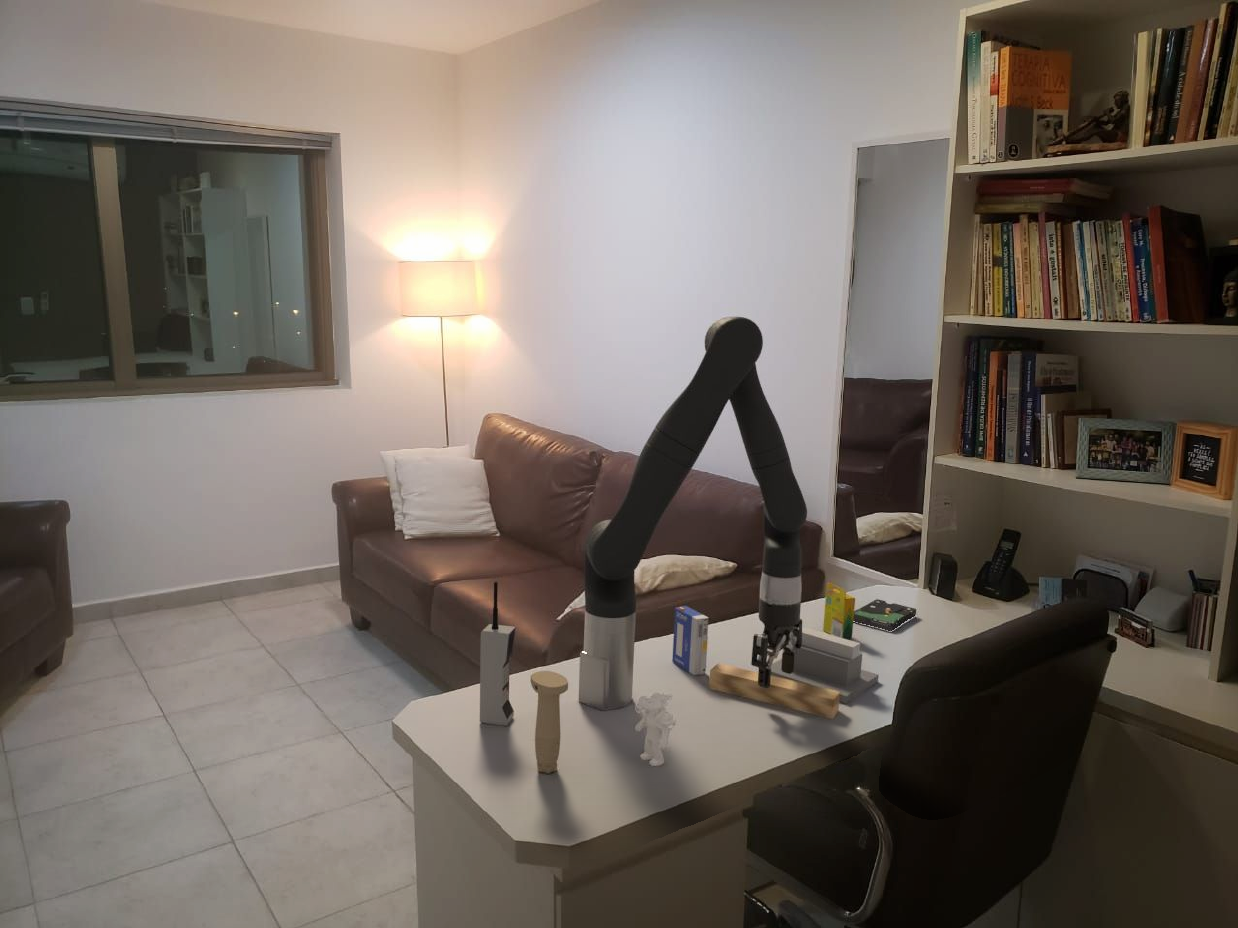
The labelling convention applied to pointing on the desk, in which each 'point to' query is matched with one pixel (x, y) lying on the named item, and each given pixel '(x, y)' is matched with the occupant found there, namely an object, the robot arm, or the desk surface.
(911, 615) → the disk drive
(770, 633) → the robot arm
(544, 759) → the handle
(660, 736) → the white figurine
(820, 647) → the balance stand
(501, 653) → the vintage mobile phone
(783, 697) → the oak bar
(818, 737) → the desk surface
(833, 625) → the crayon box
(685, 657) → the walkman
